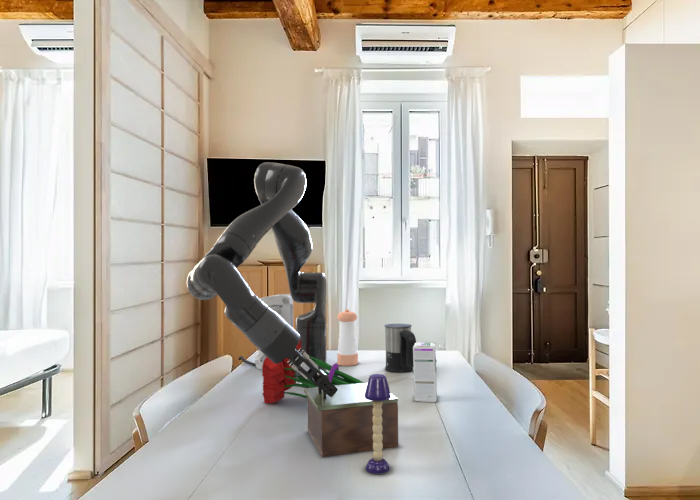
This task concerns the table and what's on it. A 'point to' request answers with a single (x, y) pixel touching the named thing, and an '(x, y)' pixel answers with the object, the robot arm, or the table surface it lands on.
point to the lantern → (281, 307)
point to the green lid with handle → (341, 396)
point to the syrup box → (424, 372)
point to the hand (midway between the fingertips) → (330, 389)
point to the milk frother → (399, 347)
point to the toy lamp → (377, 421)
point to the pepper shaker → (347, 339)
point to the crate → (351, 428)
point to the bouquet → (283, 378)
